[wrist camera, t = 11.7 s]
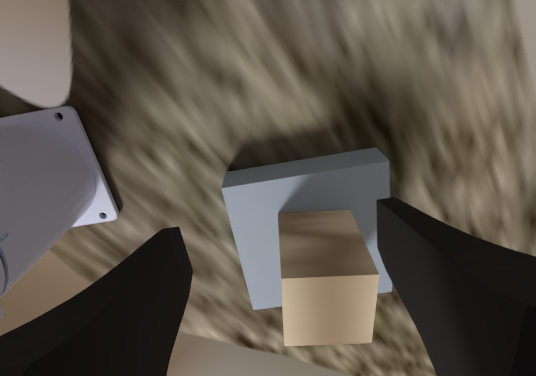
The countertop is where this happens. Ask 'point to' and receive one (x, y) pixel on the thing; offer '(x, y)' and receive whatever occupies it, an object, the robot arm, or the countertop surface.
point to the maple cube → (325, 279)
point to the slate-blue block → (301, 209)
